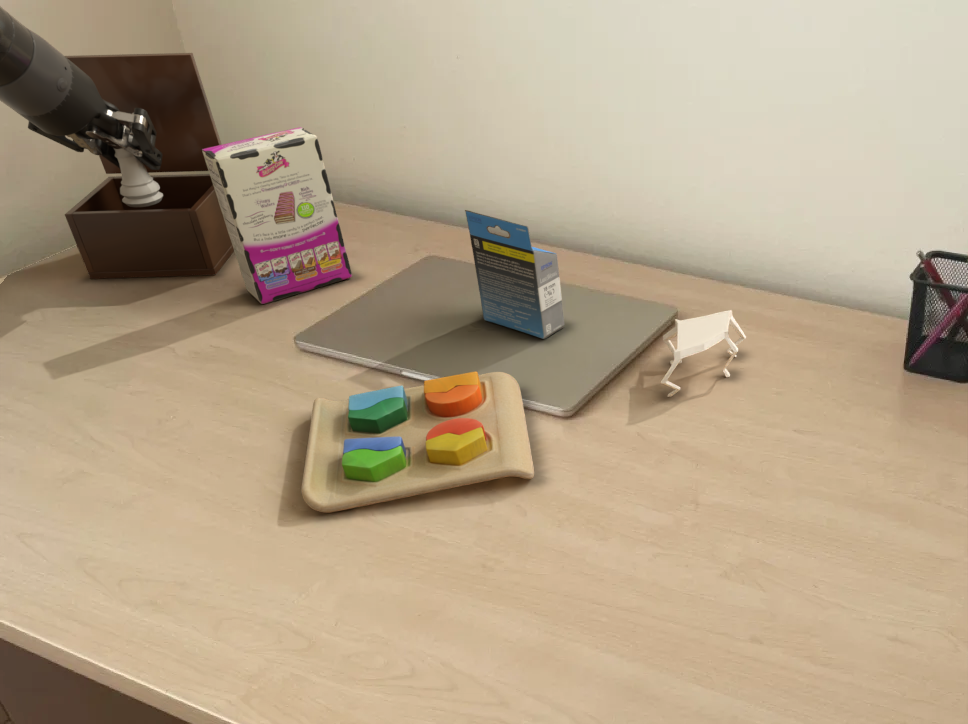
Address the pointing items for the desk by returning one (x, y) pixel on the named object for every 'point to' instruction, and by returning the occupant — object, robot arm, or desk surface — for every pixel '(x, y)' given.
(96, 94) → the robot arm
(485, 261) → the tape cartridge
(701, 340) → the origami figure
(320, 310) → the desk surface
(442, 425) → the puzzle board
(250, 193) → the candy bar box
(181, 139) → the compartment lid
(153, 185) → the rook chess piece
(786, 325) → the desk surface
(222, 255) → the compartment
